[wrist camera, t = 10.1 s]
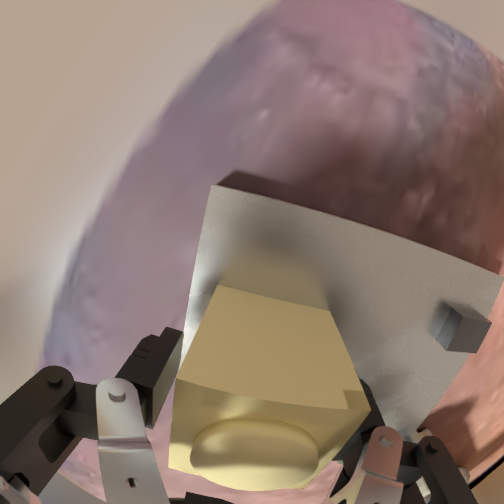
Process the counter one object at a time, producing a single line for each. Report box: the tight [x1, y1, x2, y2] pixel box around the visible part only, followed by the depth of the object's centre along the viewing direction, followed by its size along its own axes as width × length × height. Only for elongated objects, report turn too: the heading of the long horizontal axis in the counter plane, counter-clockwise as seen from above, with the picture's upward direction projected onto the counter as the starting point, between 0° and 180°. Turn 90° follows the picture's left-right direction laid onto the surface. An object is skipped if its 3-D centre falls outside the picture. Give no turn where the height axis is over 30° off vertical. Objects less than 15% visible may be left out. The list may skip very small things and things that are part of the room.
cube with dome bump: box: [168, 285, 371, 491], centre depth 9 cm, size 5×5×7 cm
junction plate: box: [178, 184, 504, 465], centre depth 10 cm, size 17×13×6 cm
